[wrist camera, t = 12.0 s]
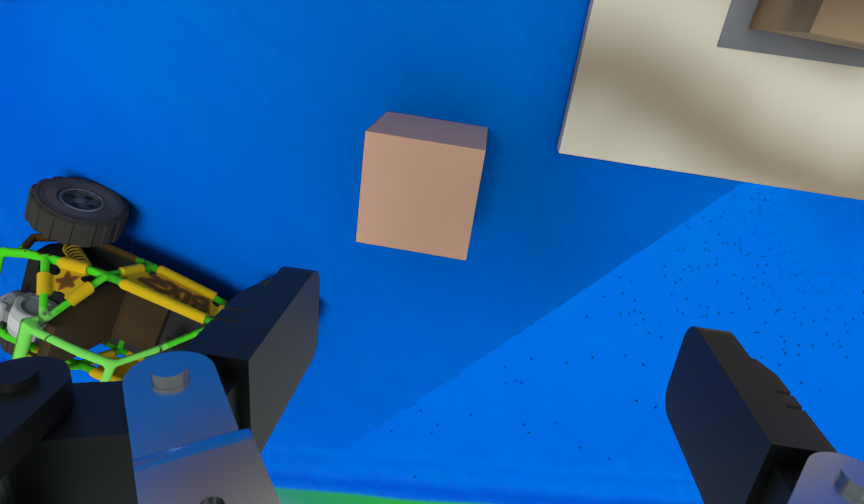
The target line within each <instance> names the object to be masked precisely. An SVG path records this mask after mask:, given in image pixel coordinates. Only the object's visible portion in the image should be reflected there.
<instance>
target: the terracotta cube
mask: <svg viewBox="0 0 864 504" xmlns="http://www.w3.org/2000/svg"><path fill="white" fill-rule="evenodd" d="M487 132H488V127H483V126H477V125H470V124H464V123H458V122H452V121H446V120H439V119H433V118H427V117H421V116H414V115H408V114H402V113H396V112H389V111H387V112H386V113H385V114H384V115H383V116H382V117H381V118H379V119H378V120H377V121H376V122H375V123H374V124H373V125H372V126H371V127H369V128H368V129H367V130H366V131H365V143H364V154H363V166H362V177H361V189H360V200H359V212H358V223H357V235H356V242H361V243H367V244H373V245H379V246H385V247H390V248H396V249H402V250H408V251H414V252H420V253H425V254H431V255H437V256H443V257H449V258H455V259H460V260H466V257H467V252H468V246H469V241H470V235H471V230H472V224H473V219H474V213H475V207H476V202H477V196H478V191H479V185H480V180H481V174H482V168H483V163H484V157H485V152H486V142H487Z"/></svg>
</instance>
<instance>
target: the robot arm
mask: <svg viewBox="0 0 864 504" xmlns="http://www.w3.org/2000/svg"><path fill="white" fill-rule="evenodd" d="M318 320H319V274H318V272H317V271H313V270H306V269H299V268H292V267H285V266H284V267H282V268H281V269H280V270H279V271H278V272H277V274H276V275H275V276H274V277H273V278H272V279H271V280H270V282H269V283H268V284H267V285H266V286H265V285H258V284H256V285H254V286H252V287H249V288H247V289H245V290H243V291H241V292H239V293H237V294H236V295H235V296H234V297H233V298H232V299H231V300H230V301H229V302H228V303H227V304H226V305H225V307H224V309H221V310H220V312H219V313H218V314H217V315H216V316H215V318H214V320H213V319H212V320H211V321H210V322H209V323H208V324H207V325H206V326H205V327H204V328H203V329H202V330H201V331H200V332H199V333H198V335H197V336H196V337H195V338H194V339H193V340H192V341H191V342H190V343H189V344H188V345H187V346H186V347H185V348H184V349H183V350H182V351H173V352H166V353H161V354H157V355H154V356H151V357H149V358H146V359H144V360H142V361H140V362H139V363H137V364H136V365H134V366H133V367H132V368H131V369H130V370H129V371H128V372H127V373H126V374H125V376H124V378H123V380H121V381H107V382H88V383H72V378H71V373H70V368H69V366H68V365H67V364H66V363H65V362H64V361H62V360H60V359H57V358H54V357H48V356H30V357H22V358H16V359H12V360H8V361H5V362H2V363H0V504H280V502H279V500H278V497H277V495H276V492H275V490H274V487H273V485H272V482H271V480H270V477H269V475H268V472H267V470H266V467H265V465H264V462H263V460H262V457H261V455H260V453H261V451H262V450H263V448H264V446H265V444H266V442H267V440H268V439H269V437H270V435H271V433H272V431H273V430H274V428H275V426H276V424H277V422H278V421H279V419H280V417H281V415H282V413H283V411H284V410H285V408H286V406H287V404H288V402H289V401H290V399H291V397H292V395H293V393H294V391H295V390H296V388H297V386H298V384H299V382H300V381H301V379H302V377H303V375H304V373H305V371H306V370H307V368H308V366H309V364H310V362H311V360H312V358H313V356H314V353H315V349H316V345H317V339H318ZM665 404H666V413H667V416H668V419H669V421H670V424H671V426H672V428H673V431H674V433H675V435H676V438H677V440H678V442H679V445H680V447H681V450H682V452H683V454H684V457H685V459H686V461H687V464H688V466H689V468H690V471H691V473H692V476H693V478H694V480H695V483H696V485H697V487H698V490H699V492H700V494H701V497H702V499H703V501H704V504H864V462H863V461H860V460H858V459H855V458H853V457H850V456H847V455H843V454H840V453H837V451H836V450H835V449H834V448H833V446H832V445H831V444H830V443H829V441H828V440H827V439H826V437H825V436H824V435H823V434H822V432H821V431H820V430H819V428H818V427H817V426H816V425H815V423H814V422H813V421H812V419H811V418H810V417H809V416H808V414H807V413H806V412H805V411H802V407H801V405H800V404H799V403H798V402H797V400H796V399H795V398H794V396H790V391H789V390H788V389H787V387H786V386H785V385H784V384H783V382H782V381H781V380H780V378H779V377H778V376H777V375H776V374H775V373H773V372H772V371H771V370H769V369H768V368H767V367H765V366H764V365H763V364H761V363H760V362H759V361H757V360H756V359H753V358H750V356H749V355H748V354H747V352H746V351H745V350H744V348H743V347H742V346H741V344H740V343H739V342H738V340H737V339H736V338H735V336H734V335H733V334H732V333H731V332H728V331H721V330H714V329H707V328H700V327H691V328H689V329H688V330H687V332H686V334H685V336H684V339H683V342H682V345H681V348H680V351H679V353H678V356H677V359H676V362H675V365H674V368H673V371H672V374H671V377H670V380H669V383H668V387H667V391H666V400H665Z"/></svg>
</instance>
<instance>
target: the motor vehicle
mask: <svg viewBox="0 0 864 504" xmlns="http://www.w3.org/2000/svg"><path fill="white" fill-rule="evenodd" d="M128 210H129V206H128V204H127V202H125V201H124V200H123V197H122V196H120V195H118V194H116V193H115V192H113V191H112V190H110V189H108V188H107V187H104V186H102V185H100V184H97V183H95V182H93V181H88V180H84V179H80V178H76V177H70V178H63V177H53V178H51V179H43V180H40V181H38V183H37V184H34V185H32V187H31V188H30V192H29V196H28V200H27V205H26V210H25V219H26V220H27V221H28V222H29V223H30V226H31V227H32V228H33V229H34V230H35V231H38V232H40V233H35V234H31V235H30V236H29V237H28V238H27V239H26V240H25V241H24V242H23V243H22V244H21V245H20V246H19V247H18V248H7V247H2V248H0V274H1V270H2V266H3V262H4V258H5V257H18V258H27V259H28V263H27V267H26V271H25V275H24V279H23V284H22V288H21V291H20V290H15V291H12V292H10V293H8V294H6V295H3V296H1V297H0V344H1V346H2V349H3V350H4V351H5V352H6V353H9V354H10V355H12V359H16V358H22V357H30V356H48V357H54V358H57V359H60V360H62V361H64V362H65V363H66V364H67V365H68V366H69V368H70V370H84V371H86V372H89V374H90V376H91V377H93V378H96V379H98V380H100V382H107V381H121V380H123V378H124V376H125V374H126V373H127V372H128V371H129V370H130V369H131V368H132V367H133V366H134V365H136V364H137V363H139V362H140V361H142V360H144V359H146V358H149V357H151V356H154V355H157V354H161V353H166V352H173V351H182V350H183V349H184V348H185V347H186V346H187V345H188V344H189V343H190V342H191V341H192V340H193V339H194V338H195V337H196V336H197V335H198V333H199V332H200V331H201V330H202V329H203V328H204V327H205V326H206V325H207V324H208V323H209V322H210V321H211V320H212V319H213V320H214V318H215V316H216V315H217V314H218V313H219V312H220V310H221V309H224V307H225V305H226V304H227V303H228V302H229V301H227V300H225V299H223V298H221V297H219V296H218V294H217V292H215V291H213V290H211V289H209V288H207V287H205V286H203V285H201V284H199V283H197V282H195V281H193V280H191V279H189V278H187V277H185V276H182V275H180V274H178V273H176V272H174V271H172V270H170V269H168V268H166V267H164V266H159V265H157V264H155V263H152V262H150V261H148V260H146V259H143V258H141V257H139V256H137V255H134V254H132V253H130V252H128V251H125V250H123V249H121V248H119V247H116V246H114V245H112V244H110V243H113V242H115V241H117V240H118V239H119V237H120V236H122V235H123V233H124V230H125V227H126V224H127V221H128V217H129V212H128ZM38 241H59V243H56V244H49V245H46V246H44V247H42V248H41V249H39V250H37V251H33V250H29V248H30V247H31V246H32V245H33V243H34V242H38ZM270 280H271V279H266V280H263V281H261V282H260V283H259V284H258V285H265V286H266V285H267V284H268V283H269V282H270ZM100 343H102V344H104V345H105V346H107V347H109V348H111V349H110V350H107V351H104V352H101V353H98V354H97V353H94V352H92V351H89V349H91V348H92V347H94V346H96V345H98V344H100ZM112 349H113V350H112ZM118 354H122V355H125V357H122V358H119V357H116V355H118ZM76 356H78V357H80V358H83V360H75V359H72V358H74V357H76ZM12 359H11V360H12ZM90 364H92V365H96V364H98V365H99V367H94V366H92V365H90Z"/></svg>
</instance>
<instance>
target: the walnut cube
mask: <svg viewBox="0 0 864 504" xmlns="http://www.w3.org/2000/svg"><path fill="white" fill-rule="evenodd" d="M749 29H755V30H760V31H765V32H770V33H776V34H781V35H786V36H791V37H797V38H802V39H807V40H812V41H817V42H823V43H828V44H833V45H838V46H844V47H849V48H854V49H859V50H864V0H759V2H758V4H757V7H756V9H755V12H754V15H753V17H752V20H751V22H750V25H749Z"/></svg>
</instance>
